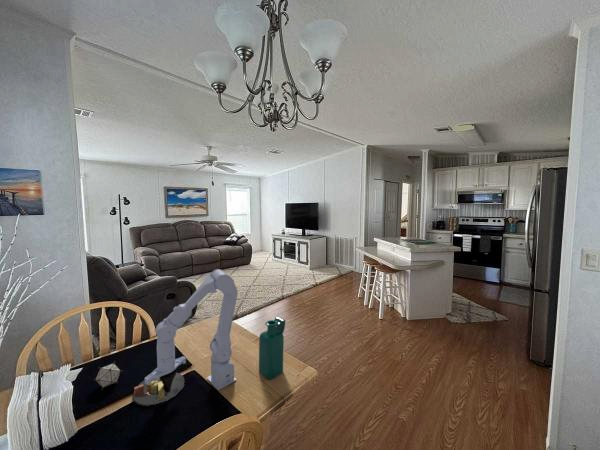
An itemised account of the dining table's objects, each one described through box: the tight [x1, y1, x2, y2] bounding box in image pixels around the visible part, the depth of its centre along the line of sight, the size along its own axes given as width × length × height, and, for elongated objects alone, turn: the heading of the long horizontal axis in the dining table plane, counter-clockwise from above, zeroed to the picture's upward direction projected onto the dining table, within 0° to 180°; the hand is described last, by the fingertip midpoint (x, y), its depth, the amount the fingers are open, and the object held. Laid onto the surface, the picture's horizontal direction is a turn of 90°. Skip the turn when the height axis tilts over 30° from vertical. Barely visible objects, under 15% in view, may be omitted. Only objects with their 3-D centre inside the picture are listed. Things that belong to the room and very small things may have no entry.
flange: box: [132, 372, 185, 407], centre depth 98 cm, size 17×17×5 cm
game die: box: [93, 360, 124, 391], centre depth 99 cm, size 9×8×10 cm
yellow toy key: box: [147, 380, 173, 400], centre depth 96 cm, size 12×9×4 cm
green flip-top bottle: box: [258, 316, 286, 380], centre depth 109 cm, size 10×8×22 cm
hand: (167, 391), depth 94 cm, fingers closed, pressing on yellow toy key
